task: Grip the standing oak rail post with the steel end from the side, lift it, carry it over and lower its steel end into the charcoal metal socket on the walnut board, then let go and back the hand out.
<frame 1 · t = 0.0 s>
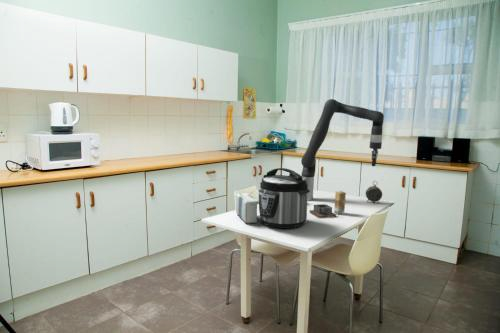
hand: (373, 165, 242), 29 cm above the table, tool pointing down, fingers open, 8 cm apart
socket board: (322, 214, 224), on the table
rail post: (339, 213, 228), on the table
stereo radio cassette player: (246, 219, 211), on the table
pressure cooker: (281, 223, 205), on the table
alarm clock: (373, 203, 258), on the table
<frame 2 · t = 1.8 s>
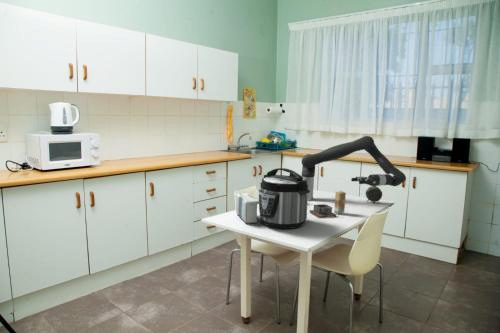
hand: (355, 180, 228), 21 cm above the table, tool horizontal, fingers open, 8 cm apart
nothing on the table moved.
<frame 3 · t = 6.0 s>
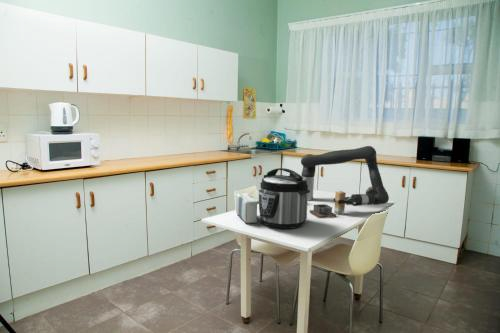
hand: (336, 201, 226), 8 cm above the table, tool horizontal, fingers closed on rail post, 4 cm apart
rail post: (339, 213, 228), on the table, touching gripper
everything else where it was.
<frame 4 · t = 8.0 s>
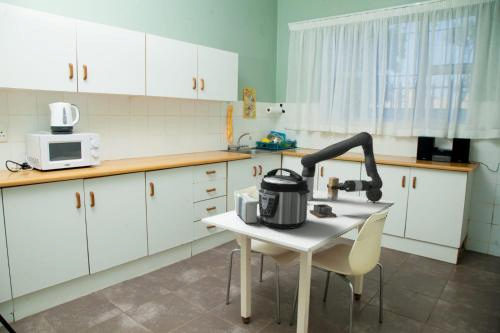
hand: (329, 186, 223), 18 cm above the table, tool horizontal, fingers closed on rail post, 4 cm apart
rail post: (332, 199, 225), point 9 cm above the table, touching gripper
everything else where it was.
when the fingers open (11 cm above the table, at t = 10.4 s): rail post drops 1 cm, resting on socket board.
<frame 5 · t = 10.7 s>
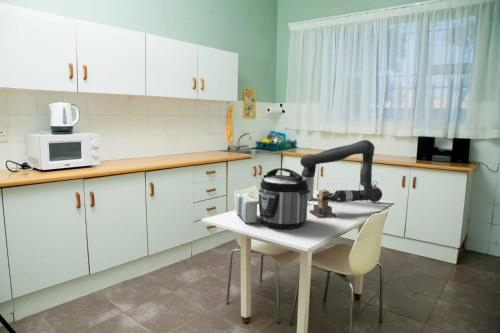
hand: (320, 197, 222), 11 cm above the table, tool horizontal, fingers open, 6 cm apart
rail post: (322, 212, 224), point 2 cm above the table, touching socket board
everything else where it was.
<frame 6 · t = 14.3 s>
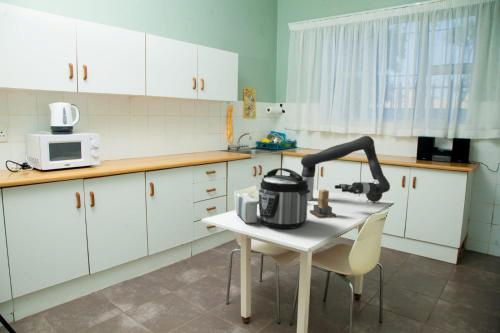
hand: (338, 188, 225), 16 cm above the table, tool horizontal, fingers open, 8 cm apart
nothing on the table moved.
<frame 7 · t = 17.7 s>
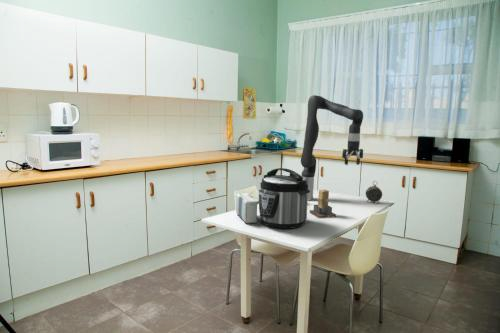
hand: (352, 164, 235), 30 cm above the table, tool pointing down, fingers open, 8 cm apart
nothing on the table moved.
at the end: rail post 0.2 cm off-centre on the socket board, point 1.5 cm above the socket board's base; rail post tilted 0°; the gripper is holding nothing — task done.
